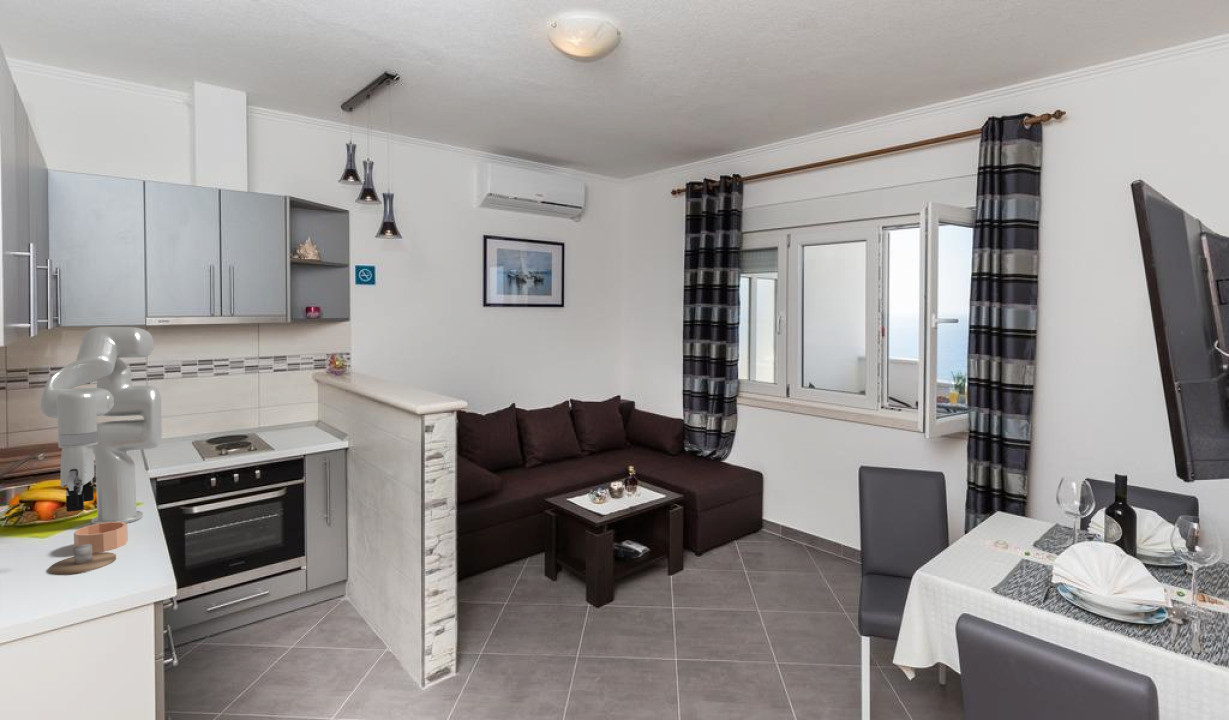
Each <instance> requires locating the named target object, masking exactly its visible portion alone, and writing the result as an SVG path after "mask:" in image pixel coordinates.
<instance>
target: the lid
mask: <svg viewBox="0 0 1229 720" xmlns="http://www.w3.org/2000/svg"><path fill="white" fill-rule="evenodd" d="M116 560H117V555H116V553H114V552H108V551H103V552H96V553H92V545H91V544H85V545H80V546H77V547H75V548H73V556H72V557H68V558H65V559H61V560H59V561H57V562H55V563H53V564H52V565H50V566H49V570H48V571H49V573H50V574H52V575H57V576H59V575H60V576H61V575H62V576H67V575H68V576H73V575H79V574H85V573H89V572H92V571H94V570H98V569H102V568H103V567H106V566H109V565H110V564H112V563H114V562H116Z"/></svg>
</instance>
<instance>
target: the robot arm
mask: <svg viewBox="0 0 1229 720" xmlns="http://www.w3.org/2000/svg"><path fill="white" fill-rule="evenodd" d="M154 343H155V342H154V339H153V336H152V334H151V333H150V332H149V331H148V330H146V329H143V328H139V327H132V326H130V327H129V326H126V327H125V326H120V327H119V326H99V327H93V328H90V329H88V330H86V331H85V332H84V334H83V335H82V337H81V343H80V346H79V350H78V353H77V356H76V359H75V361H74V362H71V363H68V364H67V365H65V366H64V367H62V368H60V369H59V370H57V371H55V372H54V373H53V374H51V376H49V378H48V379H47V380H46V384H45V385H44V389H43V391H42V394H41V399H40V410H41V412H42V413H43V415H44V416H45V417H48V418H53V419H57V444H58V445H57V446H58V448H60V449H61V456H60V487H61V488H66V489H65V491H66V492H65V502H66V504H65V505H66V506H65V507H66V512H67V513H68V512H69V513H70V512H79V511H83V510H84V508H85V506H84V505H85V503H84V502H93V501H94V500H95V496H94V495H95V491H94V480H93V478H94V477H95V484H96V485H95V486H96V506H97V507H96V509H97V516H95V517H93V518H92V519H91V520H90V522H91V523H90V525H94V524H99V523H106V522H124V523H127V524H129V523H132V522H135V521H138V520H140V519H142V518H143V516H144V513H143V511H140V510H137V494H136V493H137V486H136V484H137V483H136V465H135V462H134V460H133V458H131V456H129V455H128V454H127V453H126V451H127V452H128V451H138V450H149V449H155V448H157V447H159V446H160V444H161V442H162V436H163V435H162V432H163V428H162V399H161V393H160V391H159V389H158V388H157V387H155V386H152V385H133V384H132V370H131V368H130V366H128V364H126V362H124V360H122V359H121V358H123V359H125V358H129V359H130V358H148V357H149V356H150V355H151V354H152V353H153V350H154V348H155V346H154V345H155V344H154ZM94 382H96V387H91V388H89V387H88V388H87V387H86V388H82V387H81V388H79V387H80V386H83V385H87V384H92V383H94ZM77 387H78V388H77ZM99 416H100V417H101V416H103V417H116V418H117V417H133V416H134V417H136V416H141V417H142V419H127V420H125V419H124V420H111V421H109V420H108V421H104V422H100V423H98V418H97V417H99Z"/></svg>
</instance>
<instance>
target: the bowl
mask: <svg viewBox="0 0 1229 720" xmlns="http://www.w3.org/2000/svg"><path fill="white" fill-rule="evenodd" d="M128 533H129V532H128V523H124V522H106V523H99V524H94V525H92V524H89V525H85V526H84V527H81V528H78V529H76V530H75V531H74V532H73V542H74V543H73V545H74V548H75V547H77V546H80V545H85V544H91V545H92V553H99V552H108V551H112V550H114V549H118V548H120V547H123V546H124V545H126V544H127V542H129V539H128V538H129V537H128V536H129V535H128ZM74 548H73V549H74Z"/></svg>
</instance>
